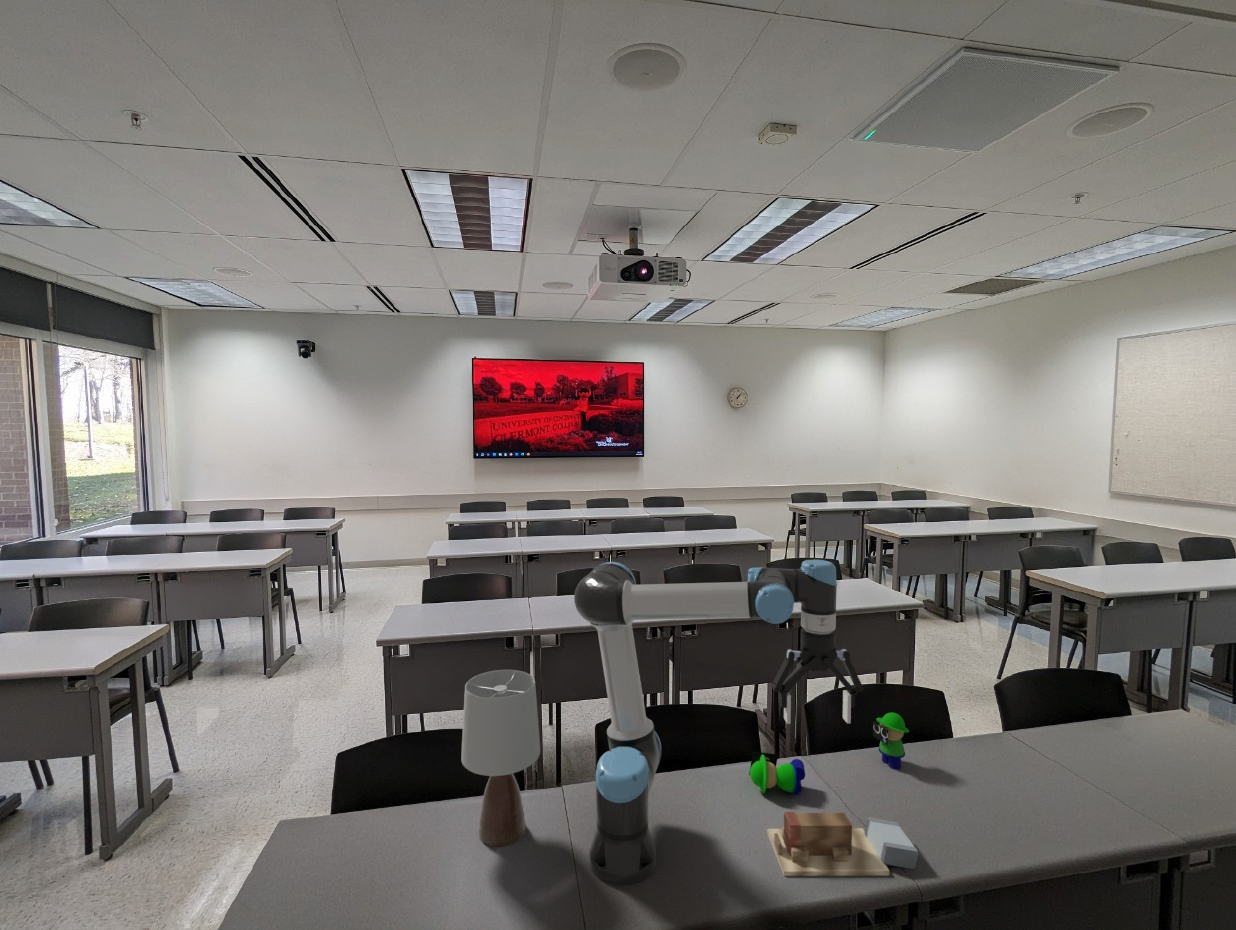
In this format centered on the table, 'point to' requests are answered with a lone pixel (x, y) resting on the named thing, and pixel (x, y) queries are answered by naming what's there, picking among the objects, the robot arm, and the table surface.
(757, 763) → the toy
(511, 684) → the lamp
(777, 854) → the jig
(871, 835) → the pale blue brick
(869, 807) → the table surface
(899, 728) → the toy
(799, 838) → the brown wooden block
